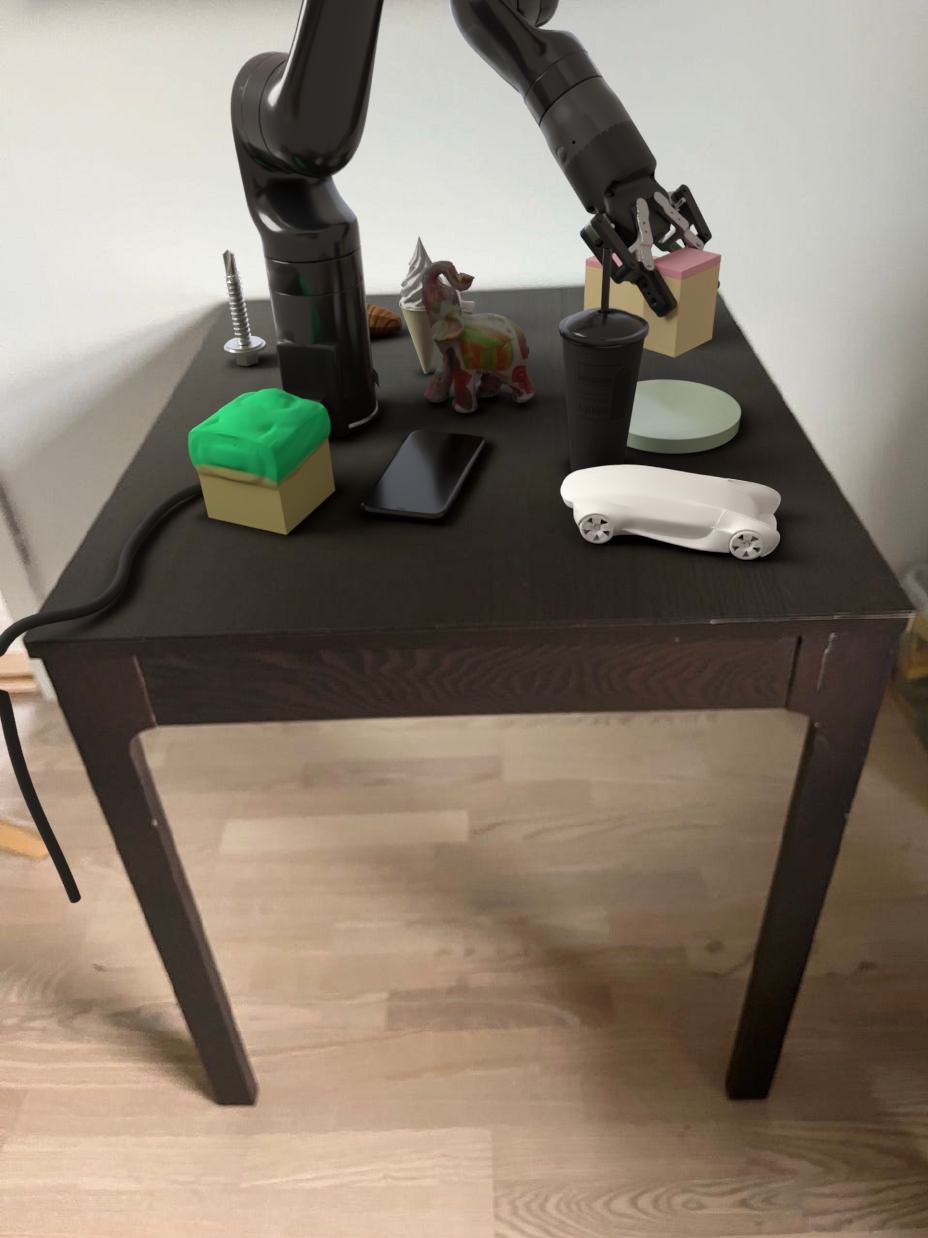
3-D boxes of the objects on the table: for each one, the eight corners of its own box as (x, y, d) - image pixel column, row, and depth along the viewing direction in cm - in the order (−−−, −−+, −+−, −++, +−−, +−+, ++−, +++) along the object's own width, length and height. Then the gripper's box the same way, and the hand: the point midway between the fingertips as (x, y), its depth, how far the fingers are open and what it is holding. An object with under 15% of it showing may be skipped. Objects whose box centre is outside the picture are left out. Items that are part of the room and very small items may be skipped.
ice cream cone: (448, 381, 108) (441, 242, 99) (402, 382, 108) (391, 244, 99) (449, 363, 112) (443, 228, 103) (405, 364, 112) (395, 230, 103)
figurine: (435, 385, 107) (427, 245, 98) (540, 394, 104) (542, 251, 95) (413, 414, 102) (402, 269, 93) (523, 425, 99) (523, 276, 90)
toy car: (777, 514, 83) (785, 466, 80) (776, 564, 77) (785, 514, 74) (569, 493, 87) (570, 448, 84) (552, 539, 81) (553, 492, 78)
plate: (734, 460, 91) (736, 445, 90) (586, 445, 94) (587, 431, 94) (743, 398, 102) (745, 385, 101) (610, 387, 105) (611, 374, 104)
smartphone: (412, 436, 97) (356, 516, 85) (411, 428, 97) (355, 507, 85) (488, 443, 96) (443, 525, 83) (488, 434, 95) (442, 516, 83)
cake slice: (712, 338, 94) (721, 254, 89) (674, 357, 91) (682, 271, 86) (678, 329, 96) (685, 246, 91) (640, 347, 93) (645, 262, 88)
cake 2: (692, 333, 117) (699, 266, 112) (661, 348, 113) (667, 279, 109) (614, 311, 124) (617, 246, 119) (583, 324, 121) (585, 258, 116)
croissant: (289, 344, 119) (283, 304, 116) (302, 324, 124) (296, 285, 121) (398, 344, 118) (395, 303, 115) (406, 324, 123) (403, 284, 120)
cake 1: (351, 483, 90) (338, 381, 84) (289, 540, 83) (270, 433, 77) (263, 466, 94) (245, 367, 88) (196, 519, 86) (171, 415, 80)
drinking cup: (645, 454, 93) (662, 237, 81) (629, 492, 87) (645, 265, 75) (567, 444, 95) (573, 232, 83) (546, 481, 89) (549, 259, 77)
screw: (275, 362, 115) (239, 373, 112) (255, 350, 118) (219, 361, 115) (257, 248, 107) (217, 258, 104) (236, 240, 110) (197, 249, 107)
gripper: (567, 132, 83) (669, 301, 83) (670, 104, 90) (763, 259, 91) (523, 189, 89) (617, 345, 89) (622, 158, 97) (709, 303, 97)
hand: (690, 301), depth 90 cm, fingers closed on cake slice, 6 cm apart
